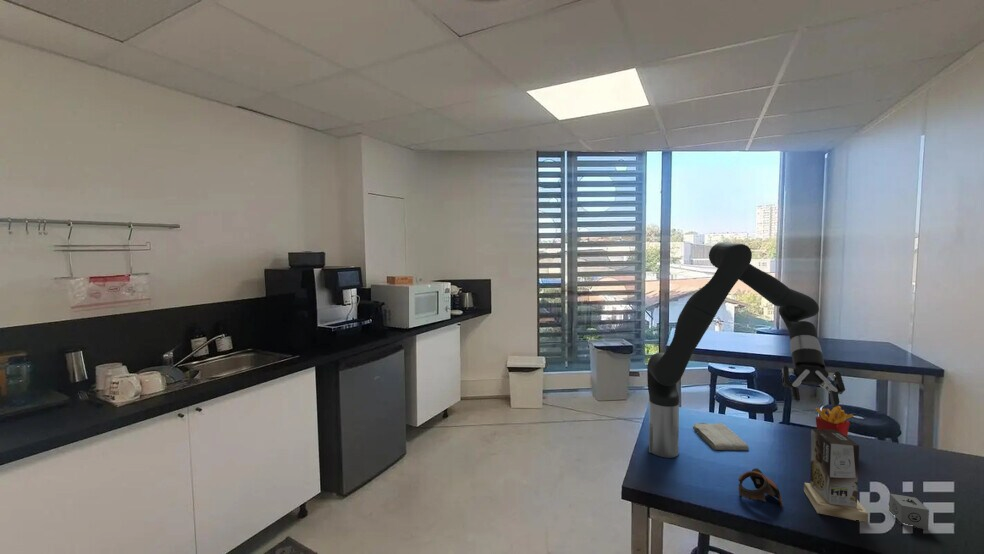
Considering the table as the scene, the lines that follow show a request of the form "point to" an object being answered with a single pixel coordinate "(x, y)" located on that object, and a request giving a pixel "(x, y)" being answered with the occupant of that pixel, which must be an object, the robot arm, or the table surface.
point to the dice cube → (909, 510)
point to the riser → (834, 506)
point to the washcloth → (720, 436)
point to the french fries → (833, 420)
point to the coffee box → (834, 467)
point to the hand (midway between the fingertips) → (816, 403)
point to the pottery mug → (758, 486)
